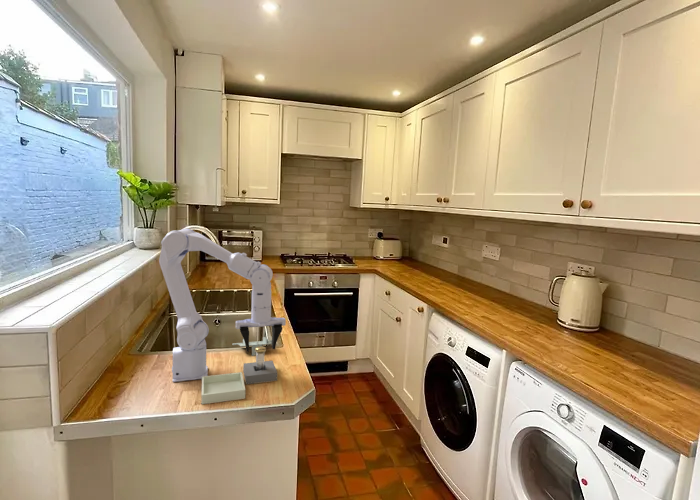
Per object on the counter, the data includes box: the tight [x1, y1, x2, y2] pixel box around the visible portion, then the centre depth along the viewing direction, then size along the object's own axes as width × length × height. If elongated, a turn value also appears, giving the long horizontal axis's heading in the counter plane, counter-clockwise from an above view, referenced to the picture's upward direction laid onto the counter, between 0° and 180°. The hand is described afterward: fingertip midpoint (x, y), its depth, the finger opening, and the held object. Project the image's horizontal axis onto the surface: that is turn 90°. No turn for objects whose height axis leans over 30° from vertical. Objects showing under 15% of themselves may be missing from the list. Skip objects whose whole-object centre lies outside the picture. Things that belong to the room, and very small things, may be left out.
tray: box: [200, 371, 246, 405], centre depth 104 cm, size 11×11×2 cm
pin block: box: [242, 360, 278, 385], centre depth 114 cm, size 9×9×2 cm
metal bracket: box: [232, 336, 272, 357], centre depth 136 cm, size 14×6×15 cm
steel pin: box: [255, 345, 267, 371], centre depth 114 cm, size 3×3×9 cm
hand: (260, 349), depth 113 cm, fingers open, 7 cm apart
